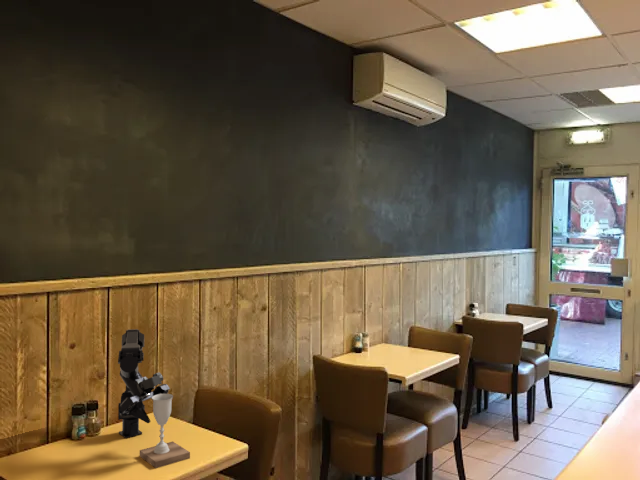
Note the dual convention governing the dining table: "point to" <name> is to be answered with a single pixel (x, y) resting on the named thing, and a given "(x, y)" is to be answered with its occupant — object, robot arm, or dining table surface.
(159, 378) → the robot arm
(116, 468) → the dining table surface
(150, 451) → the walnut board
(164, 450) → the chalice
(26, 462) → the dining table surface
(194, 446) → the dining table surface
